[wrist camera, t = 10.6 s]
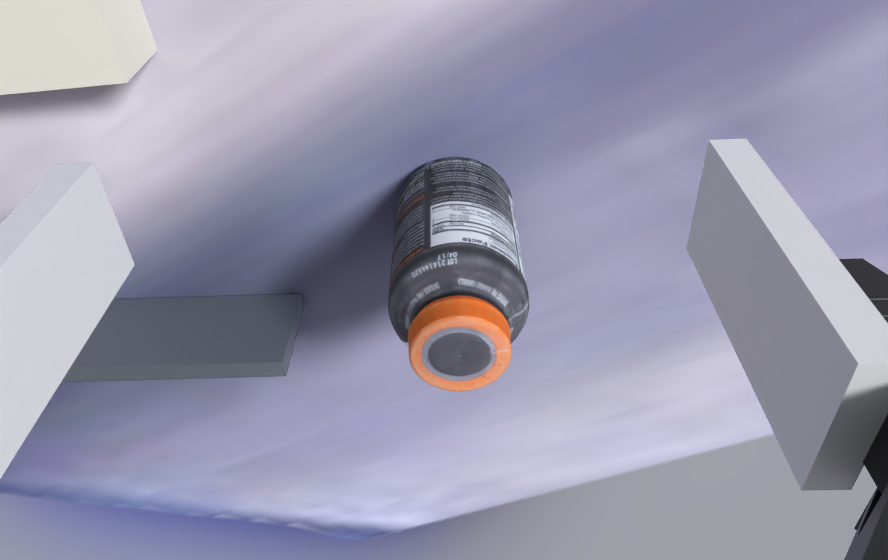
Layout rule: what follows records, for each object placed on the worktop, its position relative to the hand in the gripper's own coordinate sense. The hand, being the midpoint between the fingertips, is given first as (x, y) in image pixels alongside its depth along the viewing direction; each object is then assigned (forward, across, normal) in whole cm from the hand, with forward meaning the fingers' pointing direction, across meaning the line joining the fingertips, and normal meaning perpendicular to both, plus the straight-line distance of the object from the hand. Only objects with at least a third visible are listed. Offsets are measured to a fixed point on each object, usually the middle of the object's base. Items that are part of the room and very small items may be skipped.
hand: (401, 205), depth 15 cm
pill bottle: (+18, +1, -10) cm, 20 cm away
